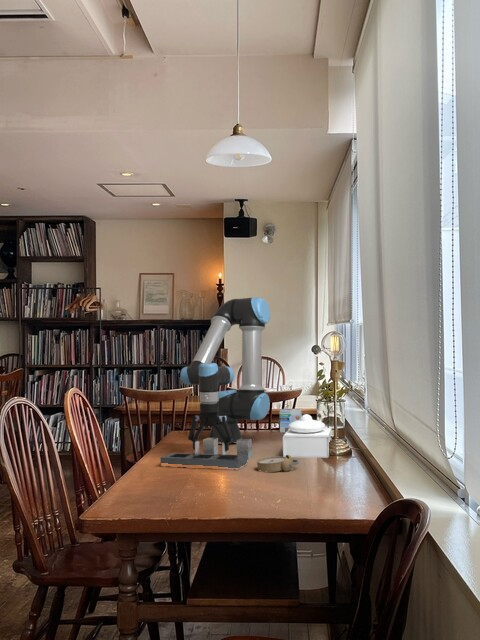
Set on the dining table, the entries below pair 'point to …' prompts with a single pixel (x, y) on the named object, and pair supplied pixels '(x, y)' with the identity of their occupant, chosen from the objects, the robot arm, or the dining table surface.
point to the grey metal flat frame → (205, 459)
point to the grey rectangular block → (210, 446)
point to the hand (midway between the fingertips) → (211, 458)
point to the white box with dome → (307, 439)
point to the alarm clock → (276, 463)
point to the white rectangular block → (244, 448)
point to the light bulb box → (289, 418)
